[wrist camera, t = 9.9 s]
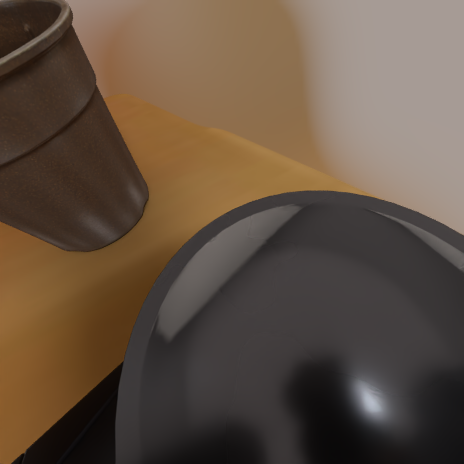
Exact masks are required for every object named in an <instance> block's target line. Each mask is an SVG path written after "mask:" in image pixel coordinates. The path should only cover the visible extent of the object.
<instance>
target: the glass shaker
mask: <svg viewBox="0 0 464 464" xmlns="http://www.w3.org/2000/svg"><path fill="white" fill-rule="evenodd" d="M115 439H116V464H464V236H463V235H462V234H460V233H458V232H456V231H455V230H453V229H451V228H449V227H448V226H446V225H444V224H442V223H440V222H438V221H436V220H434V219H432V218H429V217H427V216H425V215H423V214H421V213H419V212H416V211H413V210H411V209H408V208H405V207H402V206H400V205H397V204H395V203H391V202H388V201H384V200H381V199H377V198H373V197H369V196H364V195H358V194H353V193H346V192H336V191H299V192H289V193H283V194H278V195H273V196H268V197H265V198H262V199H258V200H255V201H252V202H249V203H247V204H244V205H242V206H240V207H237V208H235V209H233V210H231V211H229V212H227V213H226V214H224V215H222V216H220V217H219V218H217V219H215V220H214V221H212V222H211V223H210V224H208V225H207V226H205V227H204V228H203V229H201V230H200V231H199V232H198V233H196V234H195V235H194V236H193V237H192V238H191V239H190V240H189V241H188V242H186V243H185V244H184V245H183V246H182V248H181V249H180V250H179V251H178V252H177V253H176V254H175V255H174V257H173V258H172V259H171V260H170V261H169V263H168V264H167V265H166V267H165V268H164V270H163V271H162V272H161V274H160V275H159V277H158V278H157V280H156V281H155V283H154V285H153V287H152V288H151V290H150V292H149V294H148V296H147V297H146V299H145V301H144V303H143V306H142V308H141V310H140V313H139V315H138V317H137V320H136V322H135V325H134V327H133V330H132V334H131V337H130V340H129V344H128V347H127V350H126V353H125V358H124V363H123V368H122V373H121V378H120V383H119V390H118V401H117V411H116V422H115Z"/></svg>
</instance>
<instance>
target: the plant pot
mask: <svg viewBox="0 0 464 464" xmlns="http://www.w3.org/2000/svg"><path fill="white" fill-rule="evenodd" d="M72 20H73V13H72V11H71V8H70V6H69V4H68V3H67V2H66V1H65V0H1V1H0V221H1V222H3V223H5V224H7V225H10V226H12V227H14V228H17V229H19V230H21V231H23V232H26V233H28V234H30V235H32V236H35V237H37V238H39V239H41V240H44V241H46V242H48V243H50V244H52V245H55V246H57V247H58V248H61V249H63V250H66V251H70V250H72V251H84V252H87V251H93V250H96V249H99V248H102V247H104V246H107V245H109V244H111V243H113V242H114V241H116V240H118V239H119V238H121V237H122V236H123V235H125V234H126V233H127V232H128V231H130V230H131V229H132V228H133V226H134V225H135V224H136V223H137V222H138V221H139V219H140V218H141V216H142V215H143V208H144V205H145V202H146V201H147V200H148V197H149V196H148V187H147V184H146V182H145V180H144V179H143V177H142V175H141V173H140V171H139V169H138V167H137V165H136V163H135V161H134V159H133V157H132V156H131V154H130V152H129V150H128V148H127V146H126V144H125V142H124V140H123V138H122V136H121V134H120V132H119V130H118V128H117V126H116V124H115V122H114V120H113V118H112V116H111V114H110V112H109V110H108V108H107V106H106V103H105V101H104V99H103V97H102V95H101V93H100V91H99V89H98V87H97V85H96V76H95V73H94V71H93V69H92V67H91V64H90V63H89V60H88V58H87V56H86V54H85V52H84V50H83V48H82V45H81V44H80V41H79V39H78V37H77V35H76V33H75V30H74V28H73V26H72Z"/></svg>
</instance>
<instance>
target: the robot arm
mask: <svg viewBox="0 0 464 464" xmlns="http://www.w3.org/2000/svg"><path fill="white" fill-rule="evenodd" d="M123 363H124V361H123V362H122V363H121V364H120V365H119V366H118V367H117V368H115V369H114V370H113V371H112V372H111V373H110V374H109V375H108V376H107V377H106V378H104V379H103V380H102V381H101V382H100V383H99V384H98V385H97V386H96V387H95V388H94V389H92V390H91V391H90V392H89V393H88V394H87V395H86V396H85V397H84V398H83V399H81V400H80V401H79V402H78V403H77V404H76V405H75V406H74V407H73V408H72V409H71V410H69V411H68V412H67V413H66V414H65V415H64V416H63V417H62V418H61V419H60V420H58V421H57V422H56V423H55V424H54V425H53V426H52V427H51V428H50V429H49V430H48V431H46V432H45V433H44V434H43V435H42V436H41V437H40V438H39V439H38V440H37V441H35V442H34V443H33V444H32V445H31V446H30V447H29V448H28V449H27V450H26V451H25V453H23V454H21V455H20V456H19V457H18V458H17V459H16V460H15V461H13V462H12V463H11V464H116V439H115V422H116V411H117V401H118V390H119V383H120V378H121V373H122V368H123Z"/></svg>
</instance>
